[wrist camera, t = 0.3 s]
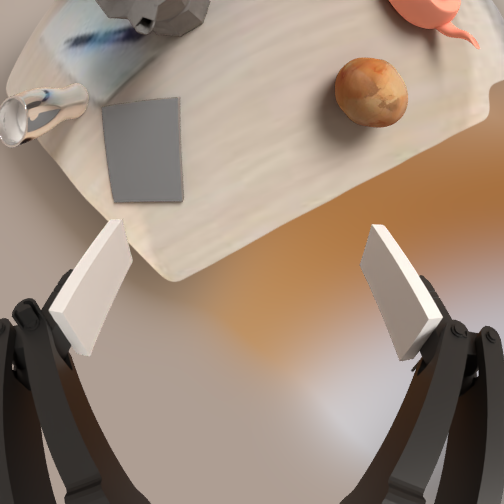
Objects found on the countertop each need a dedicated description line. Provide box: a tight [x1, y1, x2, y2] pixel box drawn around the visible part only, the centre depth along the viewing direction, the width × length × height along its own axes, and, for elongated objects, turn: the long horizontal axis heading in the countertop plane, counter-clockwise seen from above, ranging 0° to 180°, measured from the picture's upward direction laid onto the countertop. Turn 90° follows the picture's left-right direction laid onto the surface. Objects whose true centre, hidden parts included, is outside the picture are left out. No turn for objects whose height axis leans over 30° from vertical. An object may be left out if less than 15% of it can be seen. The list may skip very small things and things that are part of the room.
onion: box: [335, 58, 408, 127], centre depth 28 cm, size 10×10×10 cm
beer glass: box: [0, 83, 89, 148], centre depth 25 cm, size 7×7×15 cm
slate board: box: [102, 97, 184, 202], centre depth 37 cm, size 16×12×1 cm
